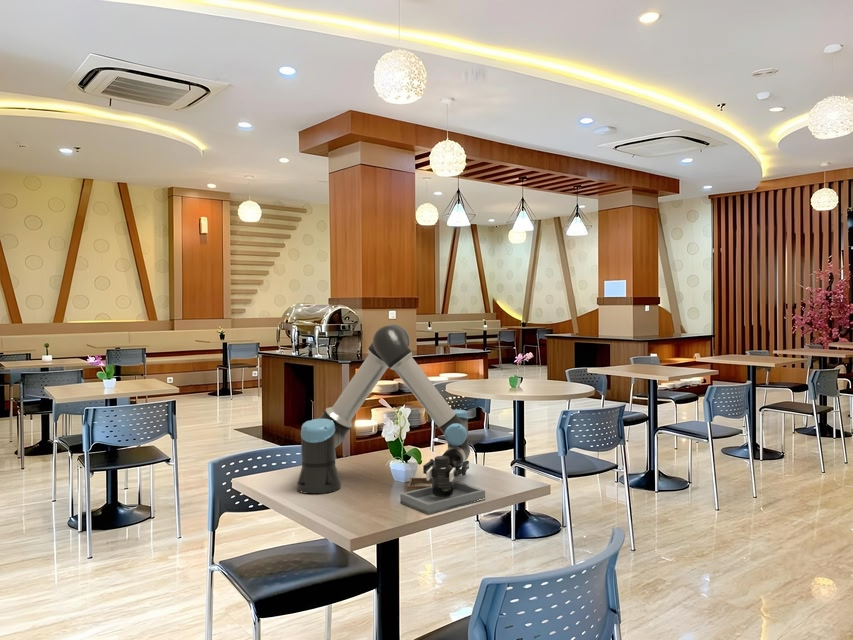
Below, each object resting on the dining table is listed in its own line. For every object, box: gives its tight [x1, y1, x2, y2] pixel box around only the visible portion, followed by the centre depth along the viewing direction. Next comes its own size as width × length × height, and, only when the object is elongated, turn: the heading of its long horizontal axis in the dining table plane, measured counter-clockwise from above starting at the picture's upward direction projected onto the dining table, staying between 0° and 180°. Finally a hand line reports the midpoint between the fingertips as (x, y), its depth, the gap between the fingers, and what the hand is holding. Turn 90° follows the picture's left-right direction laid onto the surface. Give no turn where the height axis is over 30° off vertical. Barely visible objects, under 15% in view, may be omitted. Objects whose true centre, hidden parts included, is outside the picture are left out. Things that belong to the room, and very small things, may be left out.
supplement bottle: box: [431, 455, 454, 497], centre depth 200 cm, size 7×7×12 cm
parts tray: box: [399, 480, 486, 515], centre depth 200 cm, size 15×23×3 cm, turn 127°
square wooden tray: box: [406, 477, 432, 492], centre depth 216 cm, size 11×11×2 cm
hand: (439, 476), depth 195 cm, fingers closed on supplement bottle, 7 cm apart
